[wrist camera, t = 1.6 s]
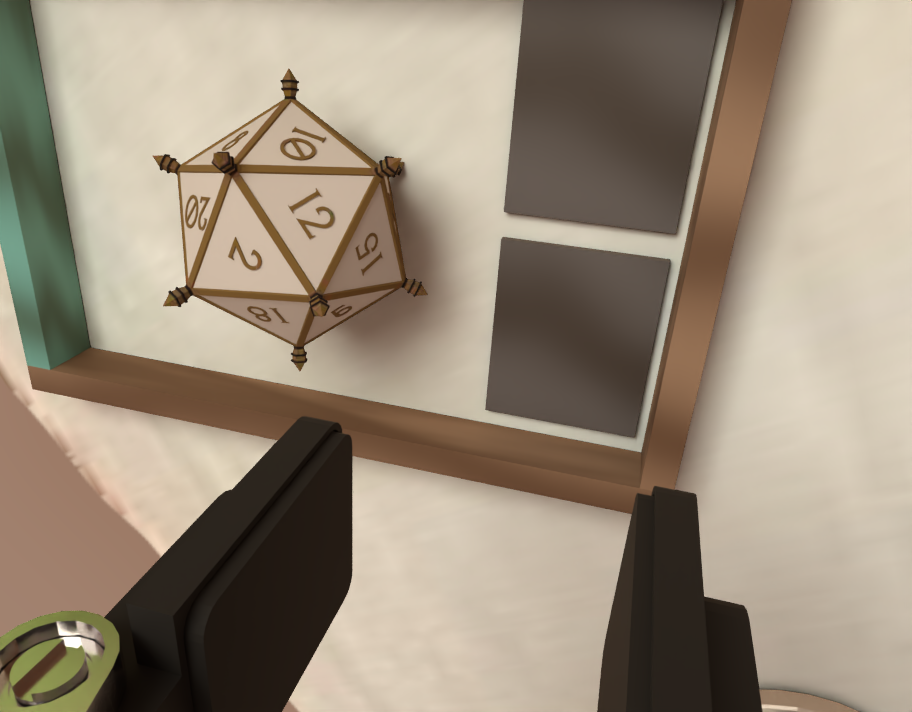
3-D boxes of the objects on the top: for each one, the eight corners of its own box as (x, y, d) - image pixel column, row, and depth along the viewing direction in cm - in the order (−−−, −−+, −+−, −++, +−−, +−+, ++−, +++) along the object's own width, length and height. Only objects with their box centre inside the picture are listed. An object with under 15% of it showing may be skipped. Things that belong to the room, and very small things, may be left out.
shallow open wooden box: (666, 483, 29) (666, 521, 26) (72, 366, 34) (32, 388, 32) (796, -76, 20) (813, -88, 18) (-18, -109, 26) (-81, -121, 24)
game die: (353, 219, 32) (153, 343, 27) (301, 21, 26) (33, 138, 21) (503, 298, 27) (286, 467, 22) (481, 74, 21) (179, 242, 16)
